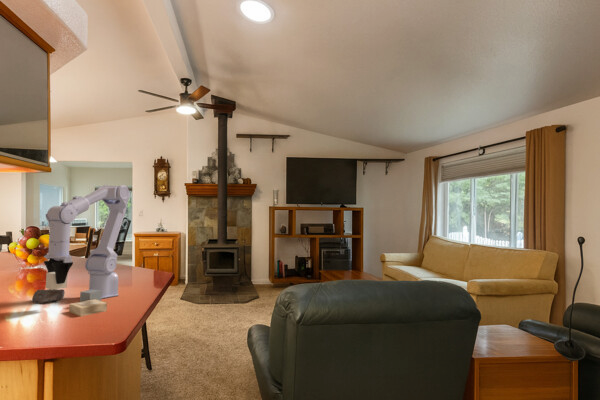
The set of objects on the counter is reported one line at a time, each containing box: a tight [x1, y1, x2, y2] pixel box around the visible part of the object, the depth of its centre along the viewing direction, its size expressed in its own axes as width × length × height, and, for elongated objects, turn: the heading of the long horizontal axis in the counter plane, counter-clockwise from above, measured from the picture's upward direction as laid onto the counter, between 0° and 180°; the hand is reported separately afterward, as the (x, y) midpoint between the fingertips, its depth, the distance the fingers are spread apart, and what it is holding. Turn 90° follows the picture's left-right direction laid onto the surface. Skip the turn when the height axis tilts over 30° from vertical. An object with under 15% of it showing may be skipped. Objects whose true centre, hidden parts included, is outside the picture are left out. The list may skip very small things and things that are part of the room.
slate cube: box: [79, 289, 102, 302], centre depth 122 cm, size 4×4×5 cm
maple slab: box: [68, 299, 108, 317], centre depth 114 cm, size 8×8×3 cm
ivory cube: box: [45, 272, 68, 290], centre depth 116 cm, size 4×4×5 cm
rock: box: [31, 288, 66, 304], centre depth 127 cm, size 9×11×4 cm
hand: (57, 282), depth 116 cm, fingers closed on ivory cube, 4 cm apart
